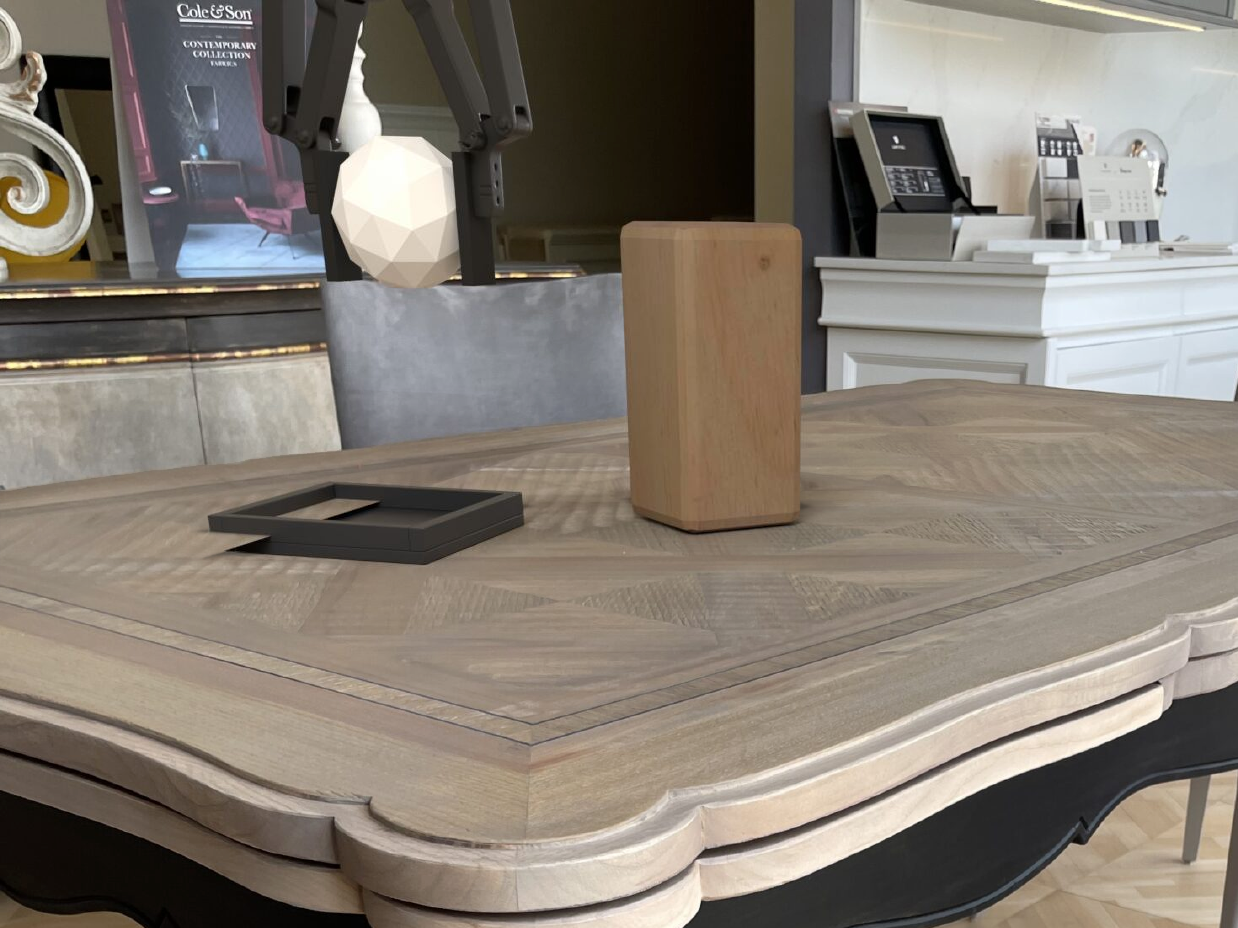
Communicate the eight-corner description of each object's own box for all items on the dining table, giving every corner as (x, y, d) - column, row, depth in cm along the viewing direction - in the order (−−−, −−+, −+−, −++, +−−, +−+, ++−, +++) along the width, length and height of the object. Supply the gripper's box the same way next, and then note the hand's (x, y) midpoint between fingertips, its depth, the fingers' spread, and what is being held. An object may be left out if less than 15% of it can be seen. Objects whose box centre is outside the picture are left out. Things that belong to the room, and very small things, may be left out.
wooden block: (805, 524, 119) (808, 223, 110) (688, 536, 115) (680, 222, 105) (739, 505, 127) (736, 221, 117) (626, 515, 122) (613, 220, 112)
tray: (212, 550, 108) (206, 515, 107) (332, 512, 122) (328, 481, 121) (425, 564, 105) (421, 528, 104) (524, 524, 118) (522, 491, 117)
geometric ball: (433, 337, 94) (490, 216, 94) (442, 290, 86) (504, 158, 86) (311, 266, 92) (369, 141, 92) (308, 210, 84) (372, 75, 84)
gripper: (583, -215, 80) (604, 285, 91) (228, -197, 85) (289, 276, 96) (518, -252, 74) (550, 290, 85) (139, -230, 79) (215, 280, 90)
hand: (411, 282), depth 91 cm, fingers closed on geometric ball, 8 cm apart
